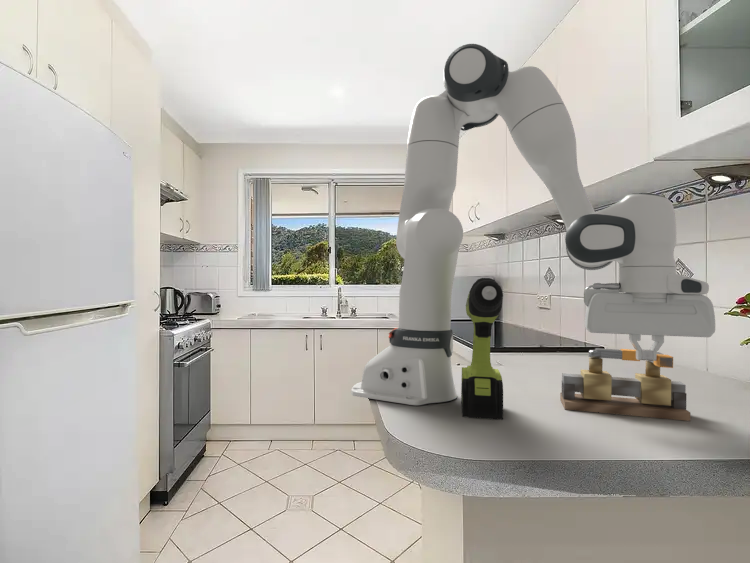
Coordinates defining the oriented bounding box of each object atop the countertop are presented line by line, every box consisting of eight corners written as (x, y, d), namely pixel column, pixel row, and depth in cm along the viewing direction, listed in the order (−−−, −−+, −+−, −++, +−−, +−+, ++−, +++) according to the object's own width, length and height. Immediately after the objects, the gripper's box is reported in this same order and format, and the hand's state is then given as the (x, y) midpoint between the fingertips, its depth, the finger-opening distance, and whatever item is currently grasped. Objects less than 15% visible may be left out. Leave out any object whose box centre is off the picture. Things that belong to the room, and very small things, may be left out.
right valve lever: (643, 359, 88) (643, 349, 88) (658, 360, 87) (658, 350, 87) (657, 367, 80) (657, 356, 80) (674, 368, 79) (674, 357, 79)
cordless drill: (511, 439, 69) (514, 276, 69) (464, 436, 70) (467, 276, 70) (495, 402, 92) (498, 279, 92) (460, 399, 93) (463, 278, 93)
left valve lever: (589, 358, 88) (589, 348, 88) (587, 356, 91) (588, 346, 91) (640, 361, 85) (640, 351, 86) (637, 359, 88) (637, 349, 88)
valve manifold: (564, 409, 87) (565, 359, 87) (560, 399, 95) (561, 353, 95) (690, 420, 81) (691, 367, 81) (674, 409, 89) (675, 360, 89)
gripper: (586, 282, 81) (586, 359, 81) (720, 284, 75) (719, 366, 75) (581, 282, 87) (580, 354, 87) (704, 284, 81) (703, 360, 81)
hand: (646, 360), depth 81 cm, fingers closed
